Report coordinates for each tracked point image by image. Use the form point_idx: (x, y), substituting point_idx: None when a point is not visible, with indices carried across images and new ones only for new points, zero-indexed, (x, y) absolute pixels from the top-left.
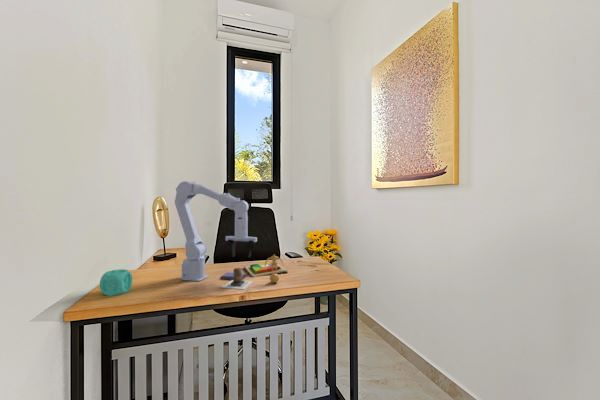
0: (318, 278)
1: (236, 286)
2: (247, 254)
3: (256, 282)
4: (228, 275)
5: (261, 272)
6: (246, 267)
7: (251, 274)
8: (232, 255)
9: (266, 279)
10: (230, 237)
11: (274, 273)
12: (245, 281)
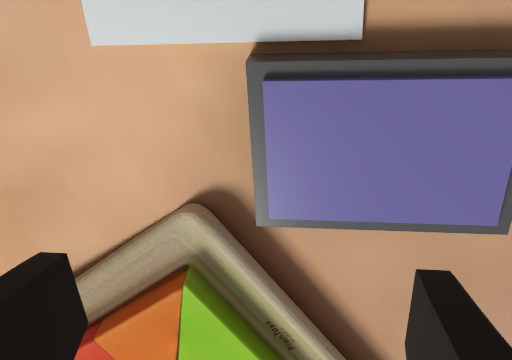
0: None
1: None
2: (6, 295)
3: (53, 37)
4: (446, 115)
5: (149, 294)
6: None
7: (201, 217)
8: (435, 290)
9: (24, 155)
10: None
11: None
12: (172, 21)
